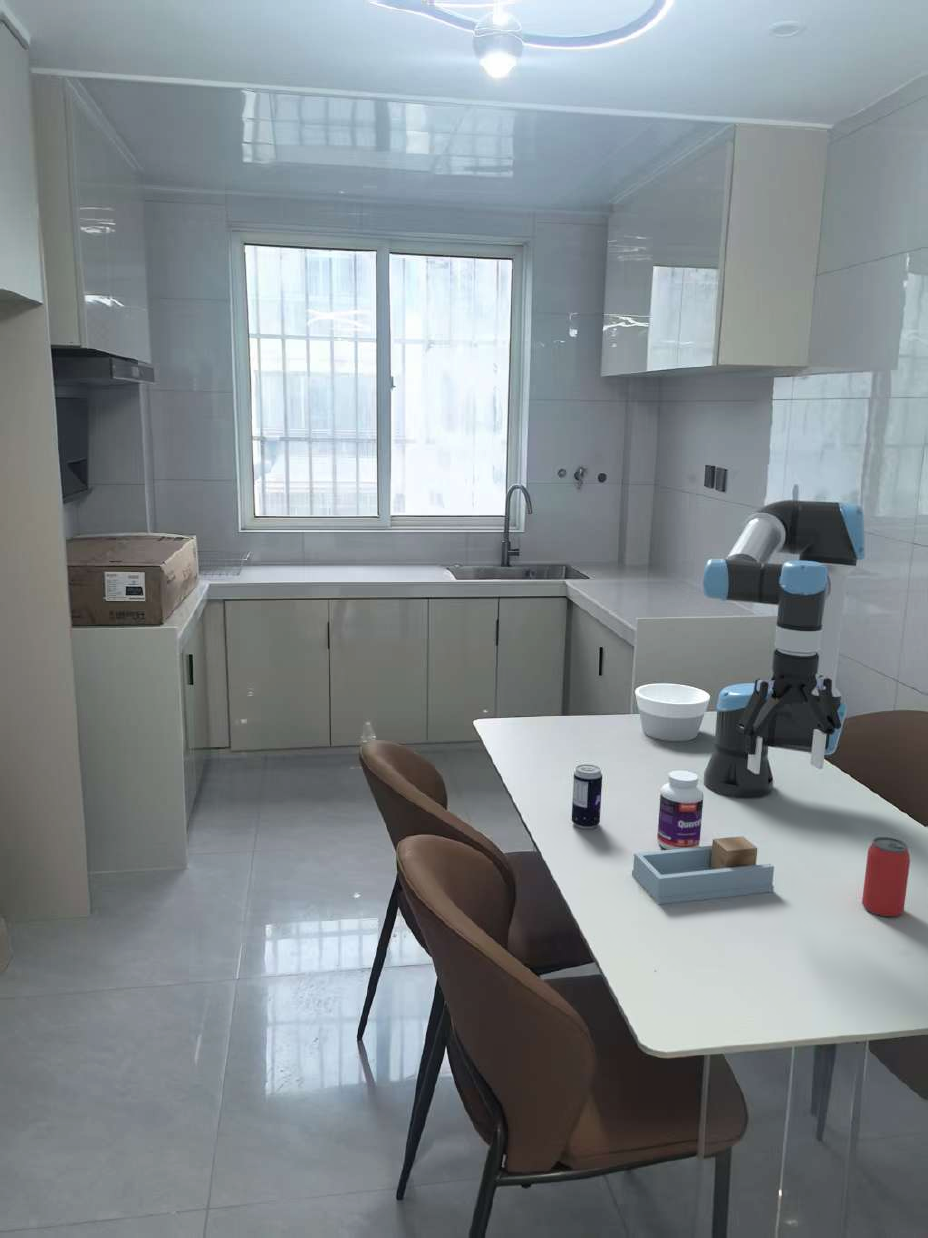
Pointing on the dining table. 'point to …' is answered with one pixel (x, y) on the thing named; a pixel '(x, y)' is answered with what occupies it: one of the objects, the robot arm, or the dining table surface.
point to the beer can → (886, 877)
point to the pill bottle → (680, 811)
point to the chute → (696, 876)
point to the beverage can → (586, 796)
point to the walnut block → (732, 853)
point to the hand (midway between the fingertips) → (785, 768)
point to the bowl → (671, 710)
